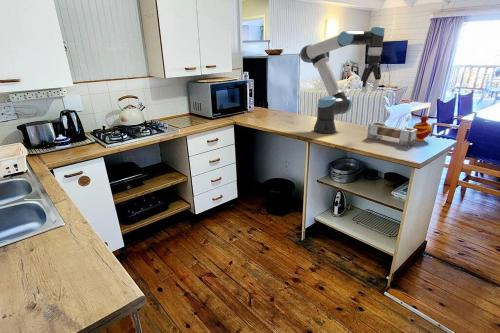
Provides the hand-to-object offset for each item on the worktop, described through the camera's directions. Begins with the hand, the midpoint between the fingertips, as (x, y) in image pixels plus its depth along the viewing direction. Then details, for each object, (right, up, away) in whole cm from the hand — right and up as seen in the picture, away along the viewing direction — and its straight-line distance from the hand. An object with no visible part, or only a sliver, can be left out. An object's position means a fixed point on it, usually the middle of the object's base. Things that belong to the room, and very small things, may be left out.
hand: (369, 91), depth 185 cm
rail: (+12, -29, -4) cm, 31 cm away
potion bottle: (+31, -31, -2) cm, 44 cm away
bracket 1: (+5, -29, +5) cm, 30 cm away
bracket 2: (+18, -34, -10) cm, 40 cm away
